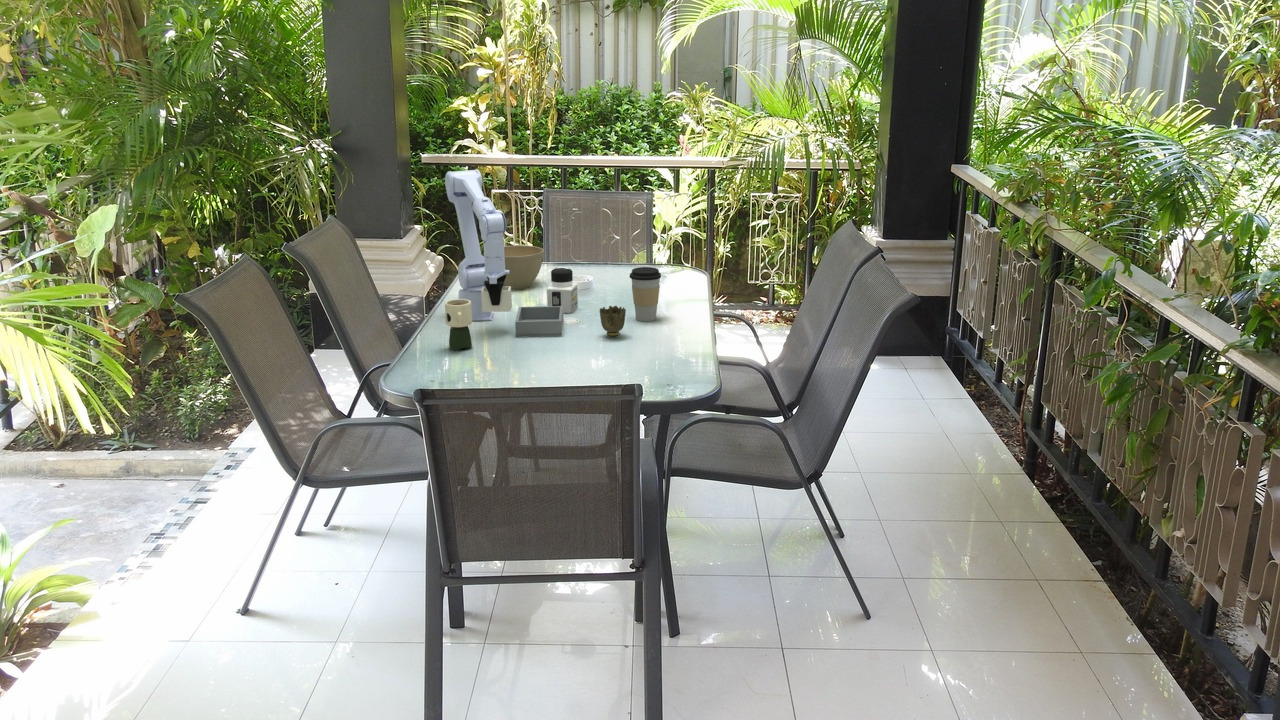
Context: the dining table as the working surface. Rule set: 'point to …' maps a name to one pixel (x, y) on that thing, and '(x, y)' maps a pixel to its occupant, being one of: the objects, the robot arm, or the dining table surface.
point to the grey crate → (539, 321)
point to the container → (562, 290)
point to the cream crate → (504, 301)
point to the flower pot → (522, 265)
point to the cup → (612, 320)
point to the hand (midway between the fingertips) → (496, 302)
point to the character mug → (459, 322)
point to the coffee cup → (645, 292)
